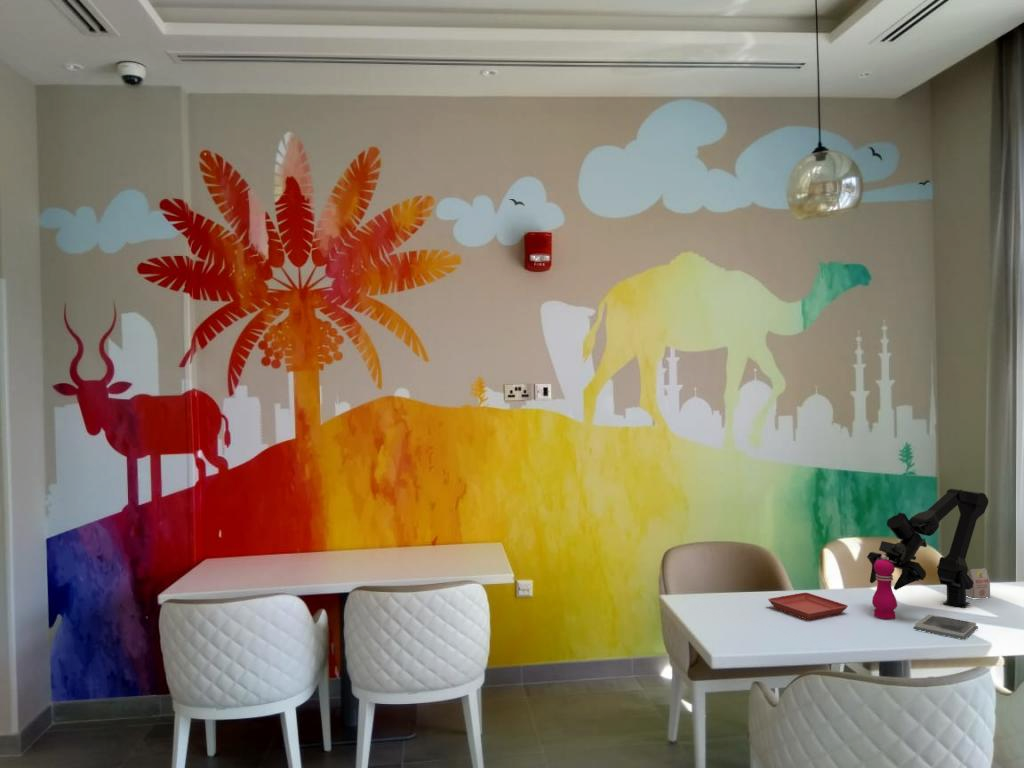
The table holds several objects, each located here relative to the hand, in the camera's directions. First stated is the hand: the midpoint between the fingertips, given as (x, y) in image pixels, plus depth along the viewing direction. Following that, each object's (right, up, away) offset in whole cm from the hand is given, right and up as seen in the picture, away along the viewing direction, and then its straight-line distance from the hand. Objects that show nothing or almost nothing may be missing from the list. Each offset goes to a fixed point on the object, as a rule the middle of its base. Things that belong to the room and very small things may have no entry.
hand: (882, 585), depth 249 cm
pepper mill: (+1, -10, 0) cm, 10 cm away
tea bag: (+43, -10, +21) cm, 49 cm away
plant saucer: (-21, -11, +8) cm, 25 cm away
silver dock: (+13, -10, -13) cm, 21 cm away
